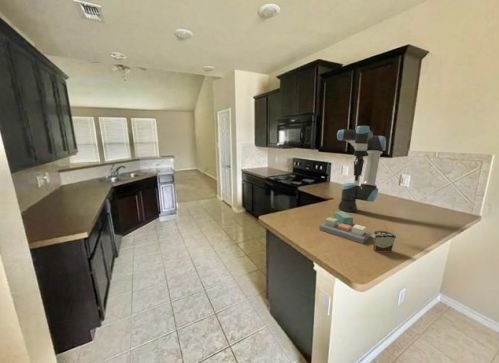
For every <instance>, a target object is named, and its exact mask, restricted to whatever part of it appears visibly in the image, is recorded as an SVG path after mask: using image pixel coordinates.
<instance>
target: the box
mask: <svg viewBox="0 0 499 363" xmlns="http://www.w3.org/2000/svg"><path fill="white" fill-rule="evenodd" d="M333 218H335V219H338V223H341V224H342V223H343V224H346V225H350V226H351V227H353V226H354V225H353V224H354V217H353V216H351V215H350V214H348V212H345V211H342V210H339V211H338V210H337V211H334V212H333Z"/></svg>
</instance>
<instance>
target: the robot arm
mask: <svg viewBox="0 0 499 363" xmlns="http://www.w3.org/2000/svg"><path fill="white" fill-rule="evenodd" d="M336 138H337V140H338V141H345V142H347V143H349V144H350V145H351V146H352V147H354V150H353V156H354V157H355V161H353V176H354V182H347V183H343V185H342V188H341V199H340V201H339V204H338V207H337V208H338V210H339V211H343V212H345V213H356V212H358V205H357V200H358V201H359V200H360V201H365V202H370V203H373V202H375V201H376V199H377V197H378V193H379V188H378V187H377V184H376V181H377V180H376V179H377V175H378V169H379V161H380V159H381V158H380V157H381V155H382V154H383V151H386V150H387V149H386V148H387V140H386V139H387V138H386V137H385V136H383V135H374V134H373V131H372V130H371V129H370V126H369V125H358V126H356V129H339V130H338V131H337V133H336ZM364 157H367V158H366V164H365V160H364ZM364 164H365V170H364V177H363V182H361V184H360V180H361V179H360V178H361V176H362V173H363V168H364Z"/></svg>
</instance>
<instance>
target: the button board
mask: <svg viewBox="0 0 499 363" xmlns="http://www.w3.org/2000/svg"><path fill="white" fill-rule="evenodd" d="M340 224H341V223H337V225H336V226H335V227H331V226H327V225H325V222H323V223H321V224H319V227H318V228H319V231H322V232H326V233H328V234H331V235H334V236H337V237H341V238H343V239H347V240H349V241H352V242H355V243H360V244H362V245H363V244H364V243H365V242H366V241H368V239H369V238H370V237H371V233H372V232H371V231H369V230H366V231H365V234H364V235H363V236H360V235H357V234H354V233H352V228H353V226H352V227H351V230H349V231H348V232H346V231H343V230H340V229H338V226H339V225H340Z"/></svg>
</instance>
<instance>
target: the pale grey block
mask: <svg viewBox="0 0 499 363" xmlns="http://www.w3.org/2000/svg"><path fill="white" fill-rule="evenodd" d="M352 227H353V228H352V233H354V234H357V235H359V236H363V235H364V234H365V231H367V230H366V229H367V227H366V226H364V225H359V224H354V225H352Z"/></svg>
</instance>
